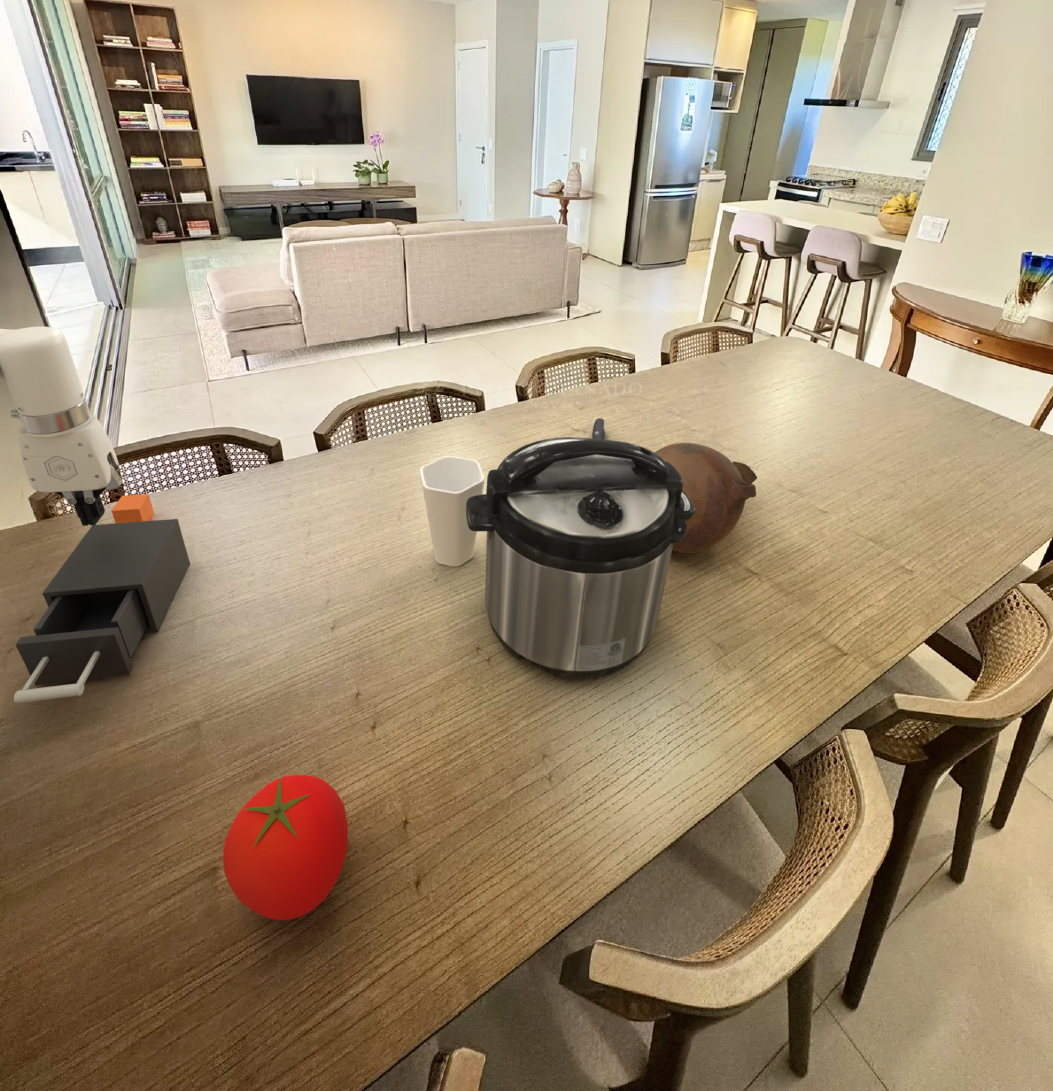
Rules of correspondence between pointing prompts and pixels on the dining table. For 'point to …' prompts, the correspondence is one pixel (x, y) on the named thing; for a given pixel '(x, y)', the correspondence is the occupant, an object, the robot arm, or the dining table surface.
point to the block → (133, 509)
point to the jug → (709, 492)
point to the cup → (451, 506)
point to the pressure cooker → (578, 551)
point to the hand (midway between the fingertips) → (93, 519)
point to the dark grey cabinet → (127, 565)
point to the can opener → (598, 430)
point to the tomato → (287, 847)
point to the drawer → (81, 642)
